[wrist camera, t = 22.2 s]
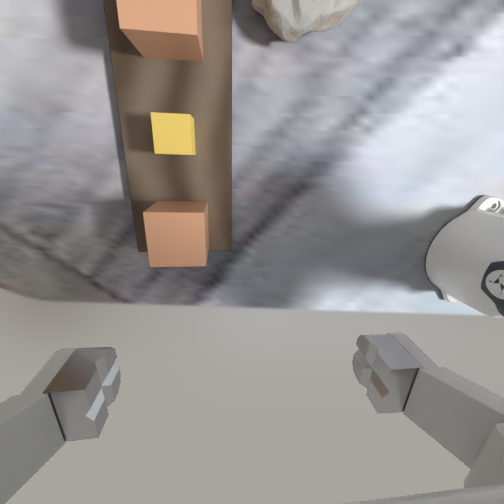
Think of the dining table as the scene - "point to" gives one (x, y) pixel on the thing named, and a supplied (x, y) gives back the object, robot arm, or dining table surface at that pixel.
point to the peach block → (163, 27)
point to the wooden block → (177, 233)
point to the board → (180, 102)
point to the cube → (173, 133)
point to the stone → (303, 15)
